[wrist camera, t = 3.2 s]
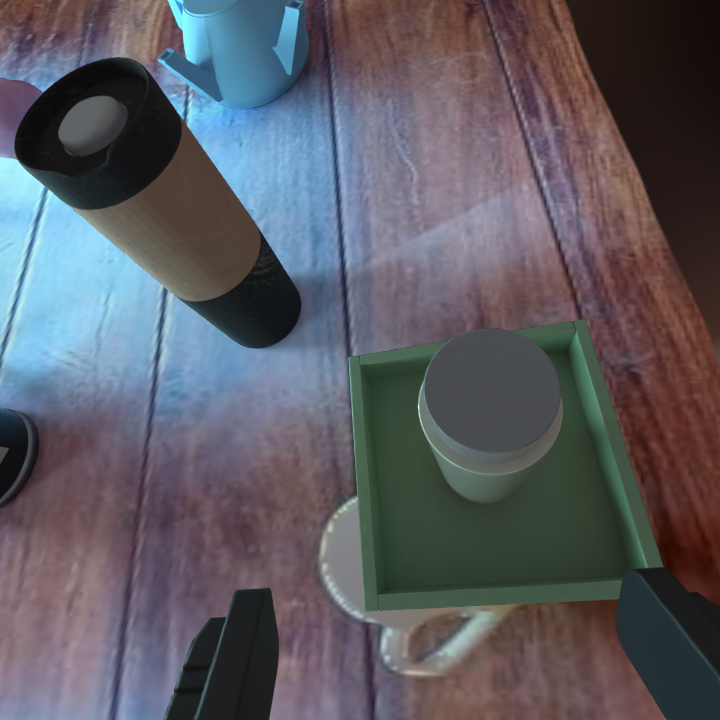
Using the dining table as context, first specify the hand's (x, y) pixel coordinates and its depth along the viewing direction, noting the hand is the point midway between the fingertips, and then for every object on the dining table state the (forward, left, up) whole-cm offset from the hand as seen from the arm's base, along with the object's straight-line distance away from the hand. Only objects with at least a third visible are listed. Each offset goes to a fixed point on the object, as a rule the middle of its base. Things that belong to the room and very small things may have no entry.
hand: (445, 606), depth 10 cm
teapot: (-45, +33, -20) cm, 59 cm away
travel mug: (-24, +8, -20) cm, 32 cm away
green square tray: (-2, +6, -19) cm, 20 cm away
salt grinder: (-2, +6, -19) cm, 20 cm away
